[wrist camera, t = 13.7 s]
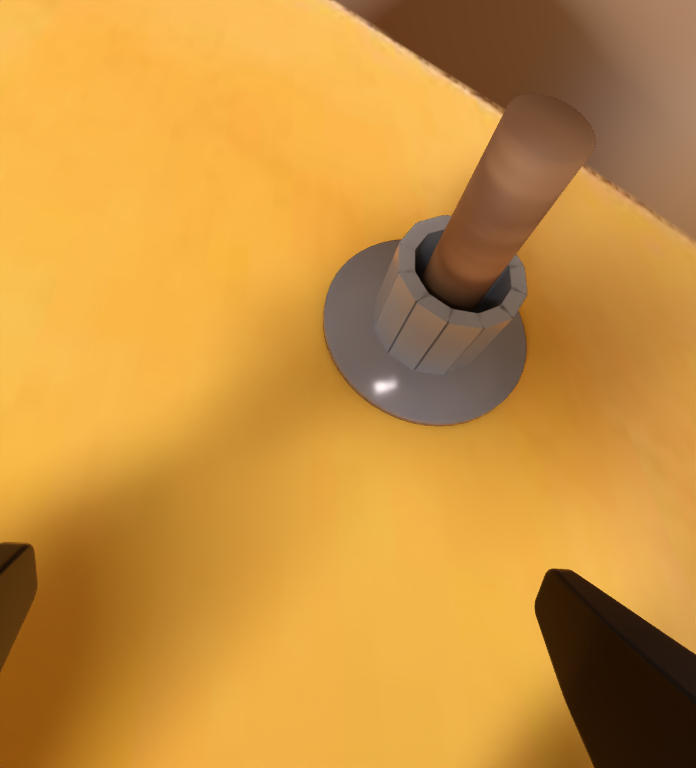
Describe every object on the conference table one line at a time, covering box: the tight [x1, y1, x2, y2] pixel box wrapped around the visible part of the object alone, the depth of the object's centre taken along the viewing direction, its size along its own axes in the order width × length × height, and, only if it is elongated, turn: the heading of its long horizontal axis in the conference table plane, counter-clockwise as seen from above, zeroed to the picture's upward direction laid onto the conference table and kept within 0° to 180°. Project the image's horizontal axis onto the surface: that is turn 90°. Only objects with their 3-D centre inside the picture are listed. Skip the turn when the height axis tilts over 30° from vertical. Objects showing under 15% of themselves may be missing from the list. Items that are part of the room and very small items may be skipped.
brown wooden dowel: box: [420, 94, 596, 312], centre depth 21 cm, size 3×3×12 cm
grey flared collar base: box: [323, 215, 527, 426], centre depth 25 cm, size 12×12×6 cm
